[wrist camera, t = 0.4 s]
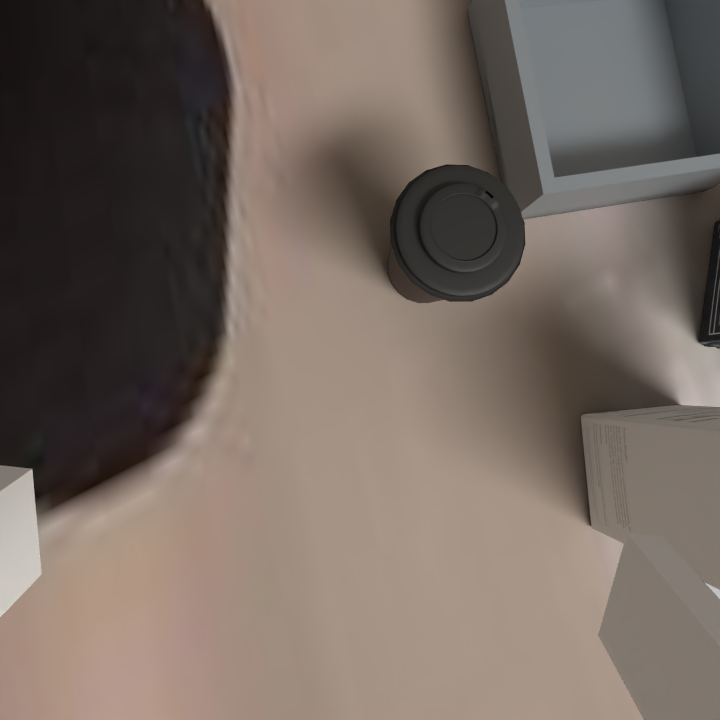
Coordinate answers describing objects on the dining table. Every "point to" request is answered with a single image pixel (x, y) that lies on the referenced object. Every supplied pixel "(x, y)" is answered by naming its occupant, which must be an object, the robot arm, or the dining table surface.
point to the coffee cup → (454, 236)
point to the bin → (600, 98)
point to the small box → (712, 297)
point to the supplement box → (658, 479)
